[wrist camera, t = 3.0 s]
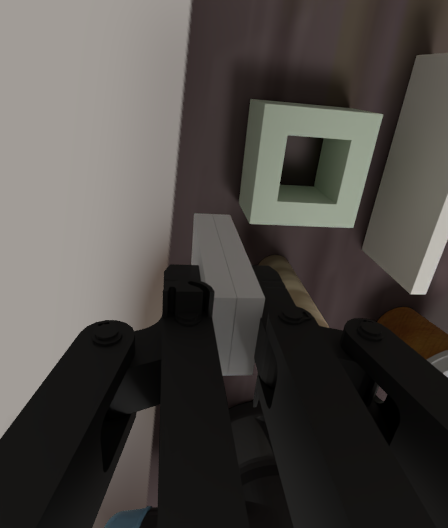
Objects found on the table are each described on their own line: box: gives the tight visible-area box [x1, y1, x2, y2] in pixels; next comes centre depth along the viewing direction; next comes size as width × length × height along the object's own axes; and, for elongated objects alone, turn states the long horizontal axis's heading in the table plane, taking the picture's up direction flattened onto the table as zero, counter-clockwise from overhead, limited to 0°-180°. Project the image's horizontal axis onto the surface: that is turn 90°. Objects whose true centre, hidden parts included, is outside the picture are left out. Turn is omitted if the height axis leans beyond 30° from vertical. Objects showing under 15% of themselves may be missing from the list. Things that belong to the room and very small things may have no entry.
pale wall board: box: [362, 53, 448, 295], centre depth 35 cm, size 2×20×10 cm, turn 175°
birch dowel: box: [258, 255, 329, 328], centre depth 36 cm, size 4×4×16 cm
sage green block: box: [239, 99, 383, 228], centre depth 34 cm, size 10×10×6 cm
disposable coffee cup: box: [377, 307, 448, 377], centre depth 44 cm, size 10×10×12 cm
